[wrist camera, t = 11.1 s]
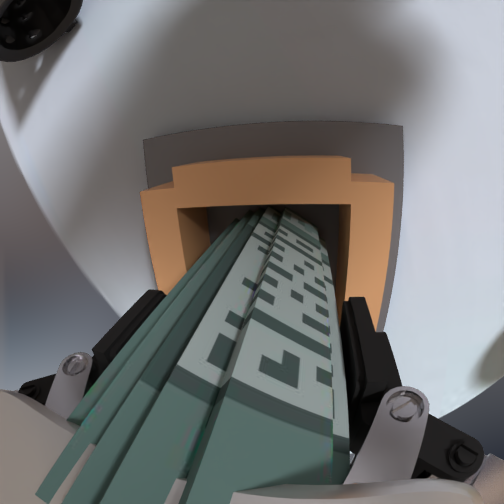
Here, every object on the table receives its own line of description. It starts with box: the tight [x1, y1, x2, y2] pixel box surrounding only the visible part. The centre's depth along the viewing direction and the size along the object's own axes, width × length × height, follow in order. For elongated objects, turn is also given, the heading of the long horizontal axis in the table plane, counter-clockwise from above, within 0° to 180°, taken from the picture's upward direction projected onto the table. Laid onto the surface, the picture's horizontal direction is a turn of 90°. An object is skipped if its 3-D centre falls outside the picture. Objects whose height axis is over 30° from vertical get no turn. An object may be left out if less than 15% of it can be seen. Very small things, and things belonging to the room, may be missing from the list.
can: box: [35, 205, 350, 504], centre depth 9 cm, size 6×6×15 cm
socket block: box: [140, 121, 404, 332], centre depth 16 cm, size 16×16×5 cm
